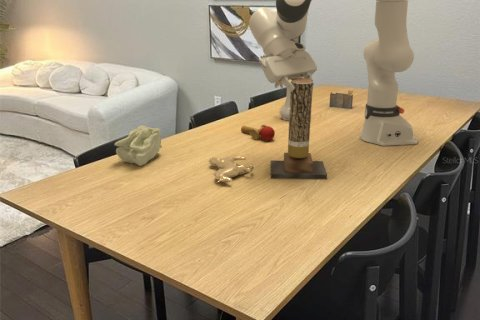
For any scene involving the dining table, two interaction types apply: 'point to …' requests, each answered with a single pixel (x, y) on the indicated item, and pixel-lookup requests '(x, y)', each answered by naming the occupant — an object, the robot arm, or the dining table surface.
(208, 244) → the dining table surface
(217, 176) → the unicorn
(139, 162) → the folded clay sculpture
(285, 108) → the flower vase
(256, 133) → the kendama
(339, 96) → the ruin model on sheet
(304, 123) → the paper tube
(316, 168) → the plinth
